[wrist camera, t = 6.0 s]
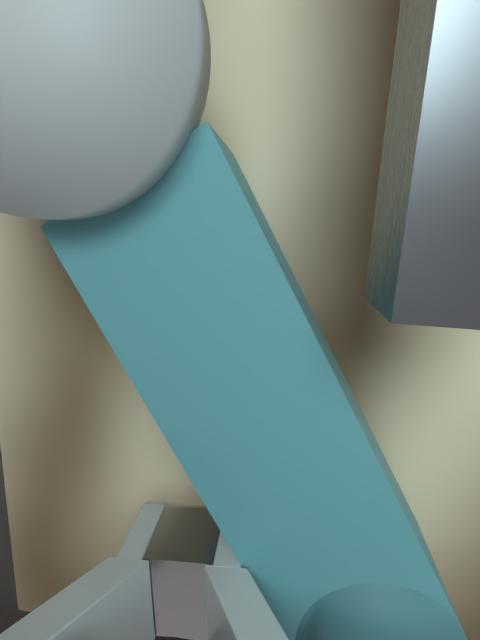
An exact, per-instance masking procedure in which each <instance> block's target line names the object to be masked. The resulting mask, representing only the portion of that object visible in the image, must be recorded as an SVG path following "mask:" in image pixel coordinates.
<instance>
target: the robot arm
mask: <svg viewBox="0 0 480 640" xmlns="http://www.w3.org/2000/svg"><path fill="white" fill-rule="evenodd" d="M155 636H166V637H180V638H188V639H195V640H289V639H288V638H287V636H286V634H285V632H284V631H283V629H282V627H281V626H280V624H279V622H278V620H277V619H276V617H275V615H274V613H273V612H272V610H271V608H270V607H269V605H268V603H267V601H266V600H265V598H264V596H263V594H262V593H261V591H260V589H259V588H258V586H257V584H256V582H255V581H254V579H253V577H252V575H251V574H250V572H249V570H248V569H247V568H242V566H241V564H240V563H239V561H238V560H237V558H236V556H235V555H234V553H233V551H232V550H231V548H230V546H229V545H228V543H227V541H226V540H225V538H224V536H223V534H222V533H221V531H220V529H219V528H218V526H217V524H216V523H215V521H214V519H213V518H212V516H211V514H210V513H209V511H208V509H207V507H206V506H198V505H187V504H176V503H161V502H149V501H147V502H146V503H144V504H143V505H142V507H141V509H140V511H139V513H138V515H137V517H136V519H135V520H134V522H133V524H132V526H131V528H130V530H129V532H128V534H127V536H126V538H125V540H124V542H123V544H122V546H121V548H120V550H119V552H118V554H117V556H116V558H114V557H108V558H107V559H106V560H104V561H103V562H101V563H100V564H99V565H97V566H96V567H94V568H93V569H91V570H90V571H89V572H87V573H86V574H84V575H83V576H82V577H80V578H79V579H77V580H76V581H74V582H73V583H72V584H70V585H69V586H67V587H66V588H65V589H63V590H62V591H60V592H59V593H57V594H56V595H55V596H53V597H52V598H50V599H49V600H48V601H46V602H45V603H43V604H42V605H40V606H39V607H38V608H36V609H35V610H33V611H32V612H31V613H29V614H28V615H26V616H25V617H23V618H22V619H21V620H19V621H18V622H16V623H15V624H13V625H12V626H11V627H9V628H8V629H6V630H5V631H4V632H2V633H1V634H0V640H155Z"/></svg>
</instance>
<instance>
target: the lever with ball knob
mask: <svg viewBox="0 0 480 640" xmlns="http://www.w3.org/2000/svg"><path fill="white" fill-rule="evenodd" d="M210 70H211V44H210V32H209V26H208V20H207V13H206V9H205V6H204V2H203V0H0V212H1V213H5V214H9V215H13V216H17V217H22V218H31V219H44V220H49V221H48V222H46V223H45V224H43V225H41V226H40V228H41V229H42V231H43V233H44V234H45V236H46V238H47V239H48V241H49V243H50V244H51V246H52V248H53V249H54V251H55V253H56V254H57V256H58V258H59V260H60V261H61V263H62V265H63V266H64V268H65V270H66V271H67V273H68V275H69V276H70V278H71V280H72V281H73V283H74V285H75V287H76V288H77V290H78V292H79V293H80V295H81V297H82V298H83V300H84V302H85V303H86V305H87V307H88V308H89V310H90V312H91V314H92V315H93V317H94V319H95V320H96V322H97V324H98V325H99V327H100V329H101V330H102V332H103V334H104V335H105V337H106V339H107V341H108V342H109V344H110V346H111V347H112V349H113V351H114V352H115V354H116V356H117V357H118V359H119V361H120V362H121V364H122V366H123V367H124V369H125V371H126V373H127V374H128V376H129V378H130V379H131V381H132V383H133V384H134V386H135V388H136V389H137V391H138V393H139V394H140V396H141V398H142V400H143V401H144V403H145V405H146V406H147V408H148V410H149V411H150V413H151V415H152V416H153V418H154V420H155V421H156V423H157V425H158V427H159V428H160V430H161V432H162V433H163V435H164V437H165V438H166V440H167V442H168V443H169V445H170V447H171V448H172V450H173V452H174V453H175V455H176V457H177V459H178V460H179V462H180V464H181V465H182V467H183V469H184V470H185V472H186V474H187V475H188V477H189V479H190V480H191V482H192V484H193V486H194V487H195V489H196V491H197V492H198V494H199V496H200V497H201V499H202V501H203V502H204V504H205V506H206V507H207V509H208V511H209V513H210V514H211V516H212V518H213V519H214V521H215V523H216V524H217V526H218V528H219V529H220V531H221V533H222V534H223V536H224V538H225V540H226V541H227V543H228V545H229V546H230V548H231V550H232V551H233V553H234V555H235V556H236V558H237V560H238V561H239V563H240V564H241V566H242V568H247V569H248V570H249V572H250V574H251V575H252V577H253V579H254V581H255V582H256V584H257V586H258V588H259V589H260V591H261V593H262V594H263V596H264V598H265V600H266V601H267V603H268V605H269V607H270V608H271V610H272V612H273V613H274V615H275V617H276V619H277V620H278V622H279V624H280V626H281V627H282V629H283V631H284V632H285V634H286V636H287V638H288V639H289V640H467V638H466V635H465V633H464V631H463V628H462V626H461V623H460V621H459V619H458V616H457V614H456V612H455V609H454V607H453V605H452V602H451V600H450V597H449V595H448V593H447V590H446V588H445V586H444V583H443V581H442V579H441V576H440V574H439V571H438V569H437V567H436V564H435V562H434V560H433V557H432V555H431V553H430V550H429V548H428V546H427V543H426V541H425V538H424V536H423V534H422V531H421V529H420V527H419V524H418V522H417V520H416V518H415V516H414V514H413V512H412V510H411V508H410V506H409V504H408V502H407V500H406V498H405V496H404V494H403V492H402V490H401V488H400V486H399V484H398V482H397V480H396V478H395V476H394V474H393V472H392V470H391V468H390V466H389V464H388V462H387V460H386V458H385V456H384V454H383V452H382V450H381V448H380V446H379V444H378V442H377V440H376V438H375V436H374V434H373V432H372V430H371V428H370V426H369V424H368V422H367V420H366V418H365V416H364V414H363V412H362V410H361V408H360V406H359V404H358V402H357V400H356V398H355V396H354V394H353V392H352V390H351V388H350V386H349V384H348V382H347V380H346V378H345V376H344V374H343V372H342V370H341V368H340V366H339V364H338V362H337V360H336V358H335V356H334V354H333V352H332V350H331V348H330V346H329V344H328V342H327V340H326V338H325V336H324V334H323V332H322V330H321V328H320V326H319V324H318V322H317V320H316V318H315V316H314V314H313V312H312V310H311V308H310V306H309V304H308V302H307V300H306V298H305V296H304V294H303V292H302V290H301V288H300V286H299V284H298V282H297V280H296V278H295V276H294V274H293V272H292V270H291V268H290V266H289V264H288V262H287V260H286V258H285V256H284V254H283V252H282V250H281V248H280V246H279V244H278V242H277V240H276V238H275V236H274V234H273V232H272V230H271V228H270V226H269V224H268V222H267V220H266V218H265V216H264V214H263V212H262V210H261V208H260V206H259V204H258V202H257V200H256V198H255V196H254V194H253V192H252V190H251V188H250V186H249V184H248V182H247V180H246V178H245V176H244V174H243V172H242V170H241V168H240V166H239V164H238V162H237V160H236V158H235V156H234V154H233V153H232V151H231V150H230V149H229V148H228V146H227V145H226V144H225V143H224V141H223V140H222V139H221V138H220V136H219V135H218V134H217V133H216V132H215V130H214V129H213V128H212V127H211V125H210V124H209V123H208V122H207V121H206V122H205V123H203V124H202V125H200V126H199V124H200V121H201V118H202V115H203V112H204V108H205V105H206V99H207V94H208V89H209V83H210Z"/></svg>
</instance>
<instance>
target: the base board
mask: <svg viewBox="0 0 480 640" xmlns="http://www.w3.org/2000/svg"><path fill="white" fill-rule="evenodd" d="M203 2H204V6H205V9H206V13H207V20H208V26H209V32H210V44H211V70H210V83H209V89H208V94H207V99H206V105H205V108H204V112H203V115H202V118H201V121H200V124H199V126H200V125H202V124H203V123H205V122H206V121H207V122H208V123H209V124H210V125H211V127H212V128H213V129H214V130H215V132H216V133H217V134H218V135H219V136H220V138H221V139H222V140H223V141H224V143H225V144H226V145H227V146H228V148H229V149H230V150H231V151H232V153H233V154H234V156H235V158H236V160H237V162H238V164H239V166H240V168H241V170H242V172H243V174H244V176H245V178H246V180H247V182H248V184H249V186H250V188H251V190H252V192H253V194H254V196H255V198H256V200H257V202H258V204H259V206H260V208H261V210H262V212H263V214H264V216H265V218H266V220H267V222H268V224H269V226H270V228H271V230H272V232H273V234H274V236H275V238H276V240H277V242H278V244H279V246H280V248H281V250H282V252H283V254H284V256H285V258H286V260H287V262H288V264H289V266H290V268H291V270H292V272H293V274H294V276H295V278H296V280H297V282H298V284H299V286H300V288H301V290H302V292H303V294H304V296H305V298H306V300H307V302H308V304H309V306H310V308H311V310H312V312H313V314H314V316H315V318H316V320H317V322H318V324H319V326H320V328H321V330H322V332H323V334H324V336H325V338H326V340H327V342H328V344H329V346H330V348H331V350H332V352H333V354H334V356H335V358H336V360H337V362H338V364H339V366H340V368H341V370H342V372H343V374H344V376H345V378H346V380H347V382H348V384H349V386H350V388H351V390H352V392H353V394H354V396H355V398H356V400H357V402H358V404H359V406H360V408H361V410H362V412H363V414H364V416H365V418H366V420H367V422H368V424H369V426H370V428H371V430H372V432H373V434H374V436H375V438H376V440H377V442H378V444H379V446H380V448H381V450H382V452H383V454H384V456H385V458H386V460H387V462H388V464H389V466H390V468H391V470H392V472H393V474H394V476H395V478H396V480H397V482H398V484H399V486H400V488H401V490H402V492H403V494H404V496H405V498H406V500H407V502H408V504H409V506H410V508H411V510H412V512H413V514H414V516H415V518H416V520H417V522H418V524H419V527H420V529H421V531H422V534H423V536H424V538H425V541H426V543H427V546H428V548H429V550H430V553H431V555H432V557H433V560H434V562H435V564H436V567H437V569H438V571H439V574H440V576H441V579H442V581H443V583H444V586H445V588H446V590H447V593H448V595H449V597H450V600H451V602H452V605H453V607H454V609H455V612H456V614H457V616H458V619H459V621H460V623H461V626H462V628H463V631H464V633H465V635H466V638H467V640H480V330H472V329H459V328H446V327H432V326H419V325H406V324H392V323H390V322H389V321H388V320H387V319H386V318H385V317H384V316H383V315H382V314H381V313H380V312H379V311H378V310H377V309H376V308H375V307H374V306H373V305H372V304H371V303H370V302H369V301H368V300H367V299H366V298H365V297H364V293H365V285H366V277H367V269H368V260H369V252H370V244H371V236H372V228H373V220H374V212H375V204H376V196H377V188H378V180H379V172H380V164H381V156H382V148H383V139H384V131H385V123H386V115H387V107H388V99H389V91H390V83H391V75H392V67H393V59H394V51H395V43H396V35H397V27H398V18H399V10H400V2H401V0H203ZM48 221H49V220H44V219H31V218H22V217H17V216H13V215H9V214H5V213H1V212H0V445H1V455H2V464H3V473H4V482H5V492H6V501H7V510H8V519H9V529H10V538H11V547H12V556H13V566H14V575H15V584H16V593H17V603H18V610H23V611H28V612H32V611H33V610H35V609H36V608H38V607H39V606H40V605H42V604H43V603H45V602H46V601H48V600H49V599H50V598H52V597H53V596H55V595H56V594H57V593H59V592H60V591H62V590H63V589H65V588H66V587H67V586H69V585H70V584H72V583H73V582H74V581H76V580H77V579H79V578H80V577H82V576H83V575H84V574H86V573H87V572H89V571H90V570H91V569H93V568H94V567H96V566H97V565H99V564H100V563H101V562H103V561H104V560H106V559H107V558H108V557H114V558H116V556H117V554H118V552H119V550H120V548H121V546H122V544H123V542H124V540H125V538H126V536H127V534H128V532H129V530H130V528H131V526H132V524H133V522H134V520H135V519H136V517H137V515H138V513H139V511H140V509H141V507H142V505H143V504H144V503H146V502H147V501H149V502H161V503H176V504H187V505H198V506H205V504H204V502H203V501H202V499H201V497H200V496H199V494H198V492H197V491H196V489H195V487H194V486H193V484H192V482H191V480H190V479H189V477H188V475H187V474H186V472H185V470H184V469H183V467H182V465H181V464H180V462H179V460H178V459H177V457H176V455H175V453H174V452H173V450H172V448H171V447H170V445H169V443H168V442H167V440H166V438H165V437H164V435H163V433H162V432H161V430H160V428H159V427H158V425H157V423H156V421H155V420H154V418H153V416H152V415H151V413H150V411H149V410H148V408H147V406H146V405H145V403H144V401H143V400H142V398H141V396H140V394H139V393H138V391H137V389H136V388H135V386H134V384H133V383H132V381H131V379H130V378H129V376H128V374H127V373H126V371H125V369H124V367H123V366H122V364H121V362H120V361H119V359H118V357H117V356H116V354H115V352H114V351H113V349H112V347H111V346H110V344H109V342H108V341H107V339H106V337H105V335H104V334H103V332H102V330H101V329H100V327H99V325H98V324H97V322H96V320H95V319H94V317H93V315H92V314H91V312H90V310H89V308H88V307H87V305H86V303H85V302H84V300H83V298H82V297H81V295H80V293H79V292H78V290H77V288H76V287H75V285H74V283H73V281H72V280H71V278H70V276H69V275H68V273H67V271H66V270H65V268H64V266H63V265H62V263H61V261H60V260H59V258H58V256H57V254H56V253H55V251H54V249H53V248H52V246H51V244H50V243H49V241H48V239H47V238H46V236H45V234H44V233H43V231H42V229H41V228H40V226H41V225H43V224H45V223H46V222H48ZM178 638H180V637H178ZM184 639H188V638H184ZM190 640H195V639H190Z"/></svg>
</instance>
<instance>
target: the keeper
mask: <svg viewBox="0 0 480 640" xmlns="http://www.w3.org/2000/svg"><path fill="white" fill-rule="evenodd" d="M364 297H365V298H366V299H367V300H368V301H369V302H370V303H371V304H372V305H373V306H374V307H375V308H376V309H377V310H378V311H379V312H380V313H381V314H382V315H383V316H384V317H385V318H386V319H387V320H388V321H389V322H390V323H392V324H406V325H419V326H432V327H446V328H459V329H472V330H480V0H401V2H400V10H399V18H398V27H397V35H396V43H395V51H394V59H393V67H392V75H391V83H390V91H389V99H388V107H387V115H386V123H385V131H384V139H383V148H382V156H381V164H380V172H379V180H378V188H377V196H376V204H375V212H374V220H373V228H372V236H371V244H370V252H369V260H368V269H367V277H366V285H365V293H364Z"/></svg>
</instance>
